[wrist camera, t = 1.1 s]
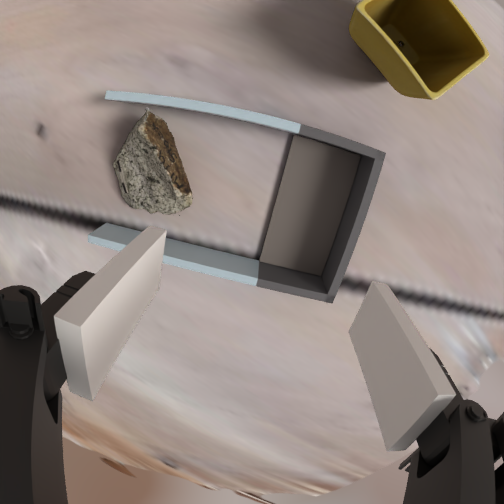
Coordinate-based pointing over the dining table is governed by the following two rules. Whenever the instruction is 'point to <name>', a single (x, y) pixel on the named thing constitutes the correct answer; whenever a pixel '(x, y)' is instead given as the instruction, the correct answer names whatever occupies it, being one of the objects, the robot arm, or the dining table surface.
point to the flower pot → (417, 44)
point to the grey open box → (318, 214)
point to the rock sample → (152, 169)
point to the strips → (177, 250)
